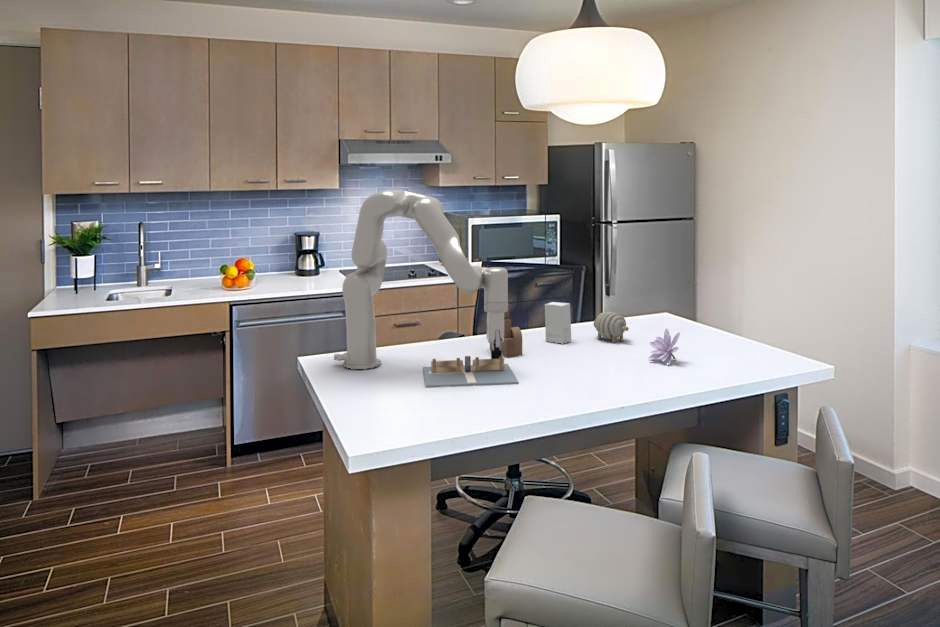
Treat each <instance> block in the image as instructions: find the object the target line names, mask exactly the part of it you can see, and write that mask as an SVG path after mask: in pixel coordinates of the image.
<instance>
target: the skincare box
mask: <svg viewBox="0 0 940 627" xmlns="http://www.w3.org/2000/svg"><path fill="white" fill-rule="evenodd" d="M544 320H545V321H544V322H545V325H544V326H545V342H546V341H549V342H548V343H553V342H555V343H554V344H559V343H561V345H564V343H565V344H568V343H567V342H569V343H571V342H572V325H571V324H572V322H571V321H572V320H571V303H570V302H560V301H559V302H558V301H556V302H555V301H551V302H548V303H545V304H544ZM570 341H571V342H570Z"/></svg>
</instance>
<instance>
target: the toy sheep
mask: <svg viewBox="0 0 940 627" xmlns="http://www.w3.org/2000/svg"><path fill="white" fill-rule="evenodd" d="M593 327H594V328H595V330H596V331H597V339H598V340H599V339H600V340H602V338H603V339H606V340H611V343H612V342H615V343H616V339H618V338H619V341H620V342H623V341H624V333H625V332H628V331H629V328H630V327H629V326H627V322H626V319H625V317H624V316H622V315H620V313H617V312H616V311H605V312H601V313H599V314H598V315H597V317H596V318H595V319H594V320H593Z"/></svg>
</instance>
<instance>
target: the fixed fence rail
mask: <svg viewBox="0 0 940 627" xmlns="http://www.w3.org/2000/svg"><path fill="white" fill-rule="evenodd" d="M430 364H431V365H430V366H431V372H460V371H463V365H464V360H463V359H461V358H460V357H456V359H455V360H454V359H452V360H437V359H436V358H432V360H431V361H430Z"/></svg>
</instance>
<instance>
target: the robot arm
mask: <svg viewBox="0 0 940 627" xmlns="http://www.w3.org/2000/svg"><path fill="white" fill-rule="evenodd" d="M394 217H402V218H406V219H411V220H414V221H415V222H416V223H417V225H418V226H419V228H420V229H421V231H422V232H423V233H424V235H425V236H426V237H427V239H428V241H429V242H430V243H431V245H432V246H433V248H434V249H435V251H436V254H437V256H438V258H439V260H440V262H441V263H442V264H441V265H442V266H443V267H444V269H445V271H446V273H447V274H448V275H449V276H450V278H451V280H452V281H453V282H454V284H455V285H456V287H457V288H458V289H459V290H460V291H462V292H463V293H467V294H471V293H474V292H477V291H478V290H480V289H483V290H484V291H483V300H484V301H483V303H484V304H483V310H484V312H485V313H486V339H487V340H486V341H487V342H488V344H490V343H491V345H492V350H490V359H499V356H502V351H501V342H502V343H503V342H504V312H507V311H508V304H509V302H508V301H509V298H508V296H509V294H508V292H509V290H508V288H509V287H508V286H509V282H508V280H509V278H508V277H509V275H508V274H509V273H508V270H507V268H505V267H498V266H494V267H493V266H491V267H487V266H486V267H484V266H477V265H471V263H470V262H469V261H468V259H467V257H466V255H465V254H464V252H463V249H462V247H461V243H460V242H461V241H460V237H459V235H458V233H457V231H456V230H455V228H454V227H453V225H452V224H451V223H450V221H449V220H448V218H447V217H446V216H445V213H444V207H443V204H442V203H441V201H440V199H438V198H436V197H433V196H428V195H425V194H424V195H423V194H419V193H414V192H410V191H406V190H400V189H386V190H381V191H377V192H375V193H373V194H371V195H369V196H368V197H367V198H365V199H364V201H363V202H362V205H361V206H360V209H359V214H358V218H357V225H356V229H355V234H354V239H353V244H352V248H351V261H352V262H353V264H354V265H355V266H356V270H355V271H353V272H350V273H349V274H348V275H347V276H346V277H345V278H344V281H343V282H342V289H341V290H342V297H343V301H344V310H345V324H346V325H345V327H346V345H347V346H346V348H347V350H346V352H344V353H334V354H333V360H335V361H341V362H342V361H343V363H342V366H343V368H345V367H347V368H346V369H348V368H352V369H351V370H355V369H363V370H368V369H367V368H371V369H375V368H374V367H376V368H378V367H380V366H381V365H382V360H381V359H379V358H377V336H376V334H377V333H376V332H377V331H376V315H375V314H376V312H375V311H376V310H375V305H374V298H373V296H374V295H376V294H377V293H378V292H379V291H380V289H381V287H382V284H383V280H384V274H385V269H386V265H387V259H388V247H387V245H386V243H385V242H384V241H383V240H382V238H383V235H384V234H383V233H384V225H385V224H384V223H385V220H386V219H387V218H394ZM377 366H378V367H377Z"/></svg>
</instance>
